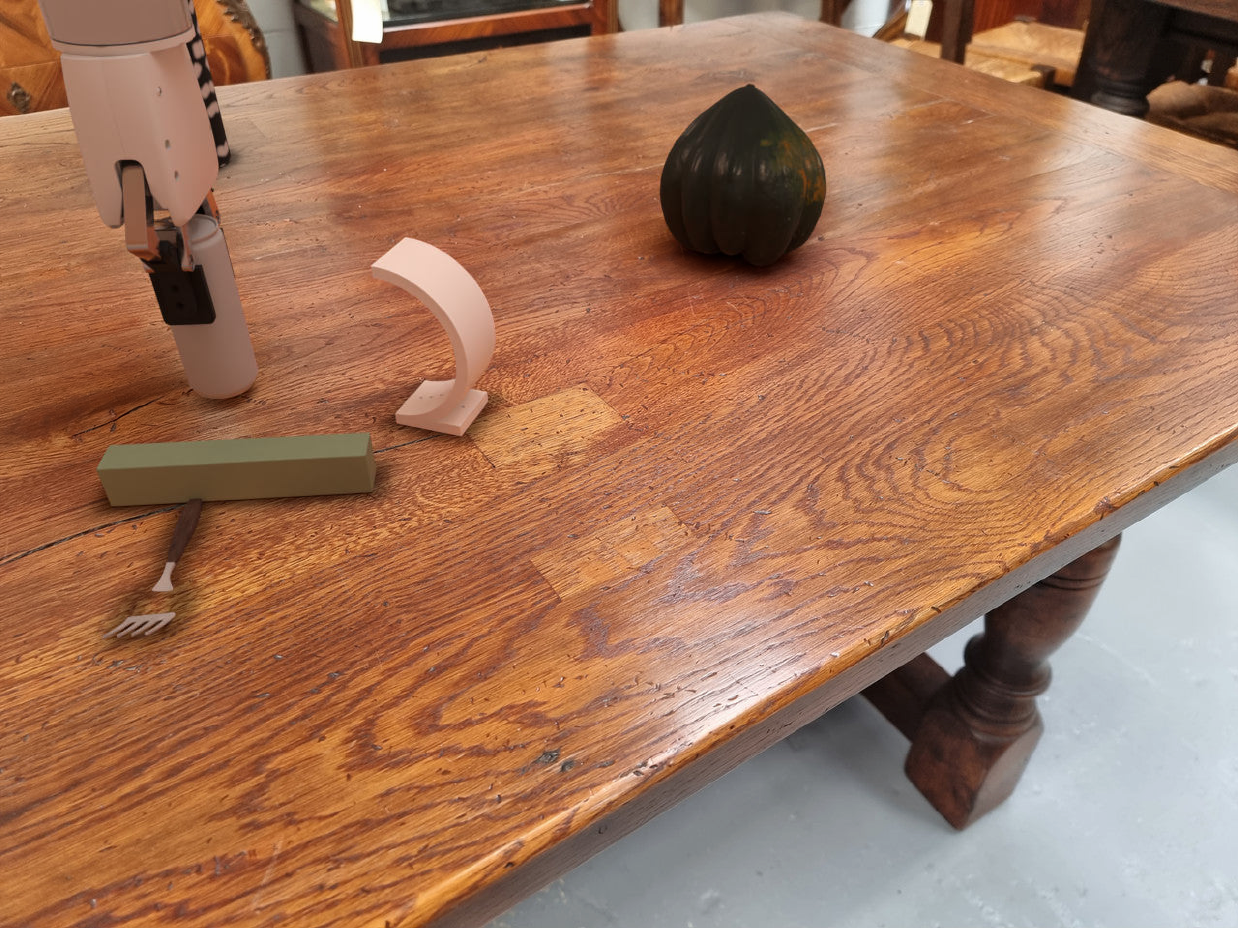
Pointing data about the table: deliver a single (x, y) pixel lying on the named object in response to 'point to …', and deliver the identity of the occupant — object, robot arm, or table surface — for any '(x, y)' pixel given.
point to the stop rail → (238, 469)
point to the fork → (166, 570)
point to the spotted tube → (208, 91)
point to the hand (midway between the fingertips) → (201, 299)
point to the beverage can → (223, 347)
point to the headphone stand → (462, 320)
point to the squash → (743, 180)
